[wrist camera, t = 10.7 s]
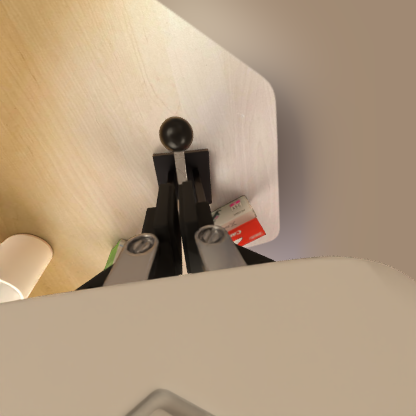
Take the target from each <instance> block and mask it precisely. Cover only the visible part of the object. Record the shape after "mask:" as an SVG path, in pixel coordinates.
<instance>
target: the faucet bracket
mask: <svg viewBox="0 0 416 416" xmlns="http://www.w3.org/2000/svg"><path fill="white" fill-rule="evenodd" d="M184 157H185V165H186V173H187V181H192V186H193V193H194V199H195V202H203V201H208V202H209V204H211V203H212V200H211V184H210V167H209V151H208V149H200V150H190V151H184ZM153 161H154V166H155V170H156V175H157V180H158V185H159V186H160V184H165V183H170V185H174V188H175V194H176V200H179V184H178V178H177V171H176V164H175V158H174V152H170V153H160V154H153Z"/></svg>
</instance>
